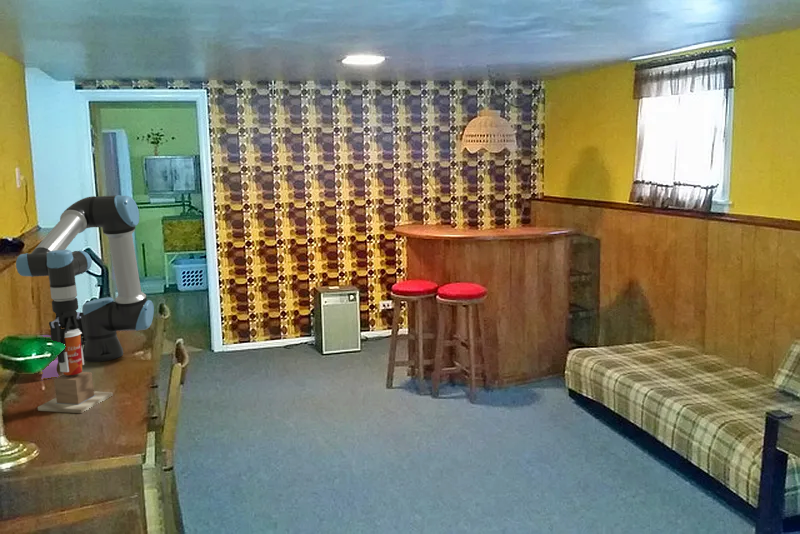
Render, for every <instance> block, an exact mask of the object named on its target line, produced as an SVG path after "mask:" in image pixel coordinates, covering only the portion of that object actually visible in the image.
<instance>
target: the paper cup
mask: <svg viewBox="0 0 800 534" xmlns="http://www.w3.org/2000/svg"><path fill="white" fill-rule="evenodd" d="M81 334H82V332H80V330H79V329H69V330H68V331H67V333H65V337H64V338H65V341H66V345H65V346H66V347H65V352H67V357H68V365H69V372H62V373H63V374H62V375H75V374H79V373H81V372H83V365H82V353H81Z"/></svg>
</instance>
